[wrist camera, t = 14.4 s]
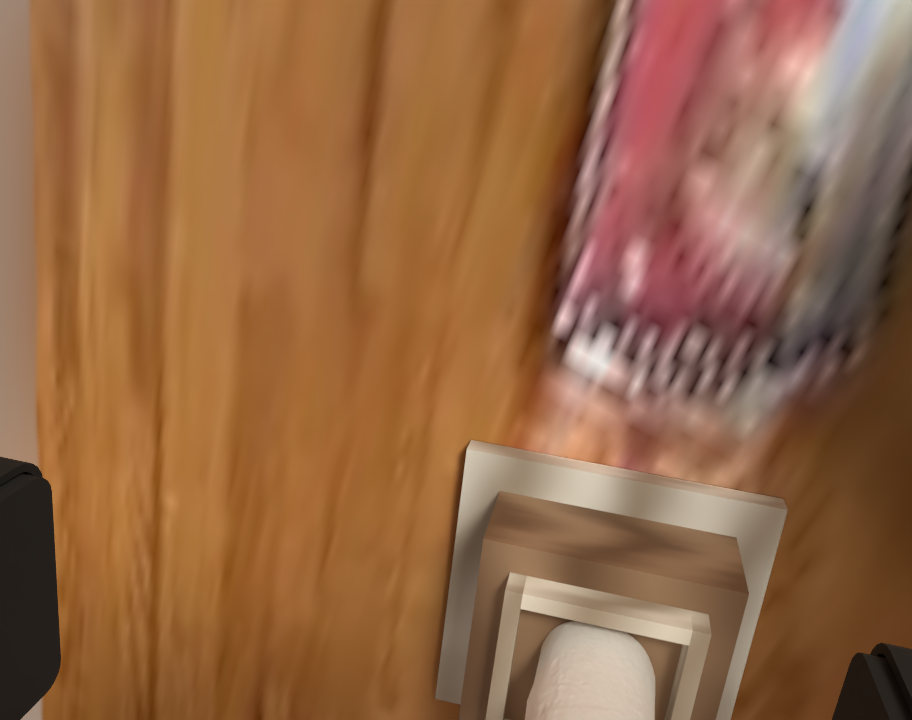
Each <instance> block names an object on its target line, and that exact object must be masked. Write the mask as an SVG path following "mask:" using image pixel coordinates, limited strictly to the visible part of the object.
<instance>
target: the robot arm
mask: <svg viewBox="0 0 912 720" xmlns="http://www.w3.org/2000/svg"><path fill="white" fill-rule="evenodd" d="M60 662H61V653H60V635H59V616H58V598H57V579H56V560H55V542H54V523H53V504H52V490H51V486H50V484H49V482H48V481H47V480H46V479H44V478H43V477H42V473H41V471H40V470H39V468H38V467H37V466H35V465H34V464H31V463H27V462H22V461H17V460H13V459H8V458H3V457H0V720H20V719H21V718H22V717H23V716H24V715H25V714H26V713H27V712H28V711H29V710H30V709H31V708H32V707H33V706H34V705H35V704H36V703H37V702H38V701H39V700H40V699H41V698H42V697H43V696H44V695H45V694H46V693H47V692H48V690H49V689H50V688H51V686H52V685H53V683H54V681H55V679H56V677H57V675H58V672H59V668H60ZM832 720H912V649H909V648H904V647H899V646H894V645H890V644H885V643H880V644H877V645H876V646H875V647H874V649H873V650H872V652H871V654H870V655H869V654H864V653H857V654H855V656H854V657H853V658H852V661H851V663H850V665H849V669H848V672H847V675H846V678H845V681H844V684H843V687H842V690H841V693H840V696H839V699H838V703H837V706H836V709H835V712H834V715H833V718H832Z"/></svg>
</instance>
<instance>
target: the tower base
mask: <svg viewBox="0 0 912 720" xmlns="http://www.w3.org/2000/svg"><path fill="white" fill-rule="evenodd" d="M787 511H788V509H787V506H786V504H785V501H784V499H782V498H777V497H771V496H766V495H761V494H755V493H750V492H745V491H740V490H734V489H729V488H724V487H718V486H713V485H708V484H702V483H697V482H692V481H687V480H681V479H676V478H671V477H665V476H660V475H655V474H649V473H644V472H639V471H634V470H628V469H623V468H618V467H612V466H607V465H602V464H596V463H591V462H586V461H581V460H575V459H570V458H565V457H559V456H554V455H549V454H543V453H538V452H533V451H528V450H522V449H517V448H512V447H506V446H501V445H496V444H490V443H485V442H480V441H475V440H471V441H470V443H469V445H468V447H467V451H466V459H465V467H464V475H463V483H462V491H461V498H460V506H459V514H458V522H457V530H456V538H455V546H454V553H453V561H452V569H451V577H450V585H449V593H448V601H447V608H446V616H445V624H444V632H443V640H442V648H441V656H440V663H439V671H438V679H437V687H436V695H435V699H438V700H442V701H446V702H450V703H455V704H459V705H460V710H459V717H458V720H525V714H526V706H527V700H528V697H529V694H530V691H531V689H532V687H533V684H534V680H535V675H536V671H537V666H538V662H539V657H540V652H541V648H542V645H543V642H544V640H545V639H546V637H547V636H548V634H549V633H550V632H551V631H552V630H553V629H554V628H556V627H557V626H559V625H561V624H563V623H566V622H570V621H578V622H582V623H587V624H592V625H596V626H601V627H605V628H610V629H614V630H619V631H624V632H626V633H628V634H629V635H631V636H632V637H634V638H635V639H636V640H637V641H638V642H639V643H640V644H641V645H642V647H643V648H644V649H645V651H646V653H647V654H648V656H649V658H650V661H651V664H652V667H653V670H654V674H655V720H730V719H731V716H732V712H733V709H734V705H735V701H736V698H737V694H738V690H739V687H740V683H741V679H742V676H743V672H744V668H745V665H746V661H747V657H748V654H749V650H750V646H751V643H752V639H753V635H754V632H755V628H756V624H757V621H758V617H759V614H760V610H761V606H762V603H763V599H764V595H765V592H766V588H767V584H768V581H769V577H770V573H771V570H772V566H773V562H774V559H775V555H776V551H777V548H778V544H779V540H780V537H781V533H782V529H783V526H784V522H785V519H786V515H787Z"/></svg>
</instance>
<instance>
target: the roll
mask: <svg viewBox="0 0 912 720" xmlns="http://www.w3.org/2000/svg"><path fill="white" fill-rule="evenodd" d="M525 720H655V674H654V670H653V667H652V664H651V661H650V658H649V656H648V654H647V653H646V651H645V649H644V648H643V647H642V645H641V644H640V643H639V642H638V641H637V640H636V639H635V638H634V637H632V636H631V635H629V634H628V633H626V632H624V631H619V630H614V629H610V628H605V627H601V626H596V625H592V624H587V623H582V622H578V621H570V622H566V623H563V624H561V625H559V626H557V627H556V628H554V629H553V630H552V631H551V632H550V633H549V634H548V636H547V637H546V639H545V640H544V642H543V645H542V648H541V652H540V657H539V662H538V666H537V671H536V675H535V680H534V684H533V687H532V689H531V691H530V694H529V697H528V700H527V706H526V714H525Z"/></svg>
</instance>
